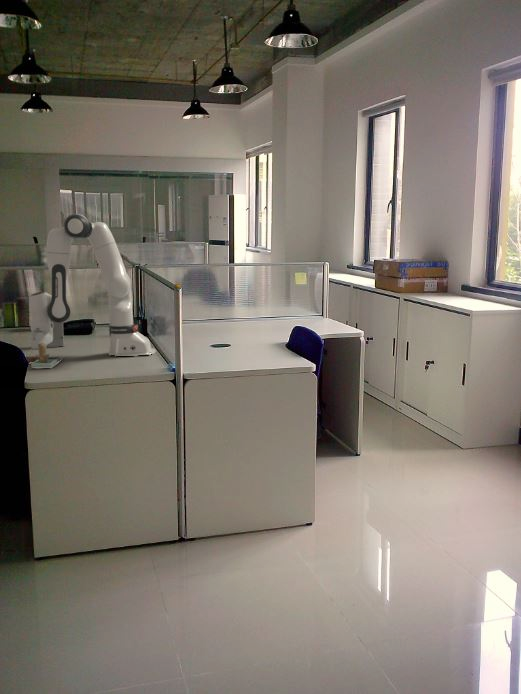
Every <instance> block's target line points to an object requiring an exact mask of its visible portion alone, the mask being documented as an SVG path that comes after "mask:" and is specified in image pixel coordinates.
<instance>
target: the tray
mask: <svg viewBox="0 0 521 694" xmlns="http://www.w3.org/2000/svg"><path fill="white" fill-rule="evenodd" d="M56 363H57V359H54V360H47V363H40V360H36V361H35V362H33V363H31V364H30V365H31V367H52V366H53V365H55V364H56Z"/></svg>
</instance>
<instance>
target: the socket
mask: <svg viewBox="0 0 521 694" xmlns="http://www.w3.org/2000/svg"><path fill="white" fill-rule="evenodd" d="M54 359H57V362H58V361H60V360H61V359H62V356H50V357H48V358H47V360H54Z"/></svg>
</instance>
